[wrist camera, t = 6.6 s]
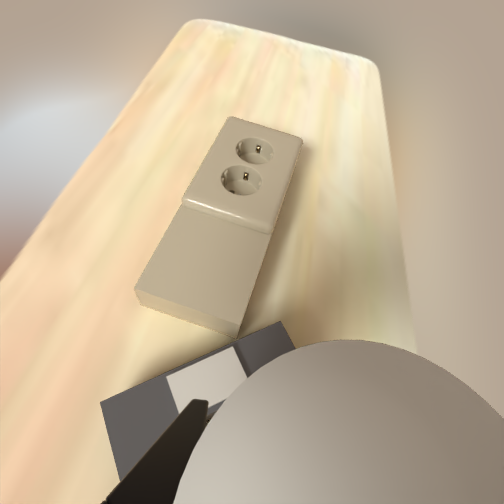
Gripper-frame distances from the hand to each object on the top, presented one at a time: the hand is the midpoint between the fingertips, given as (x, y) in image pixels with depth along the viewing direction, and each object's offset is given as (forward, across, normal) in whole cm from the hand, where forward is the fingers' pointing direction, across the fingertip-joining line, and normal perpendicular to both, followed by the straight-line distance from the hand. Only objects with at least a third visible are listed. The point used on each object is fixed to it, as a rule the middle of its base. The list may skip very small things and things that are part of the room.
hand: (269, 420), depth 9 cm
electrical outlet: (+21, +2, -1) cm, 21 cm away
